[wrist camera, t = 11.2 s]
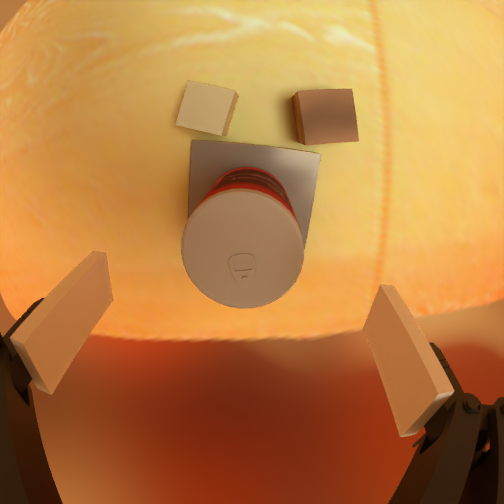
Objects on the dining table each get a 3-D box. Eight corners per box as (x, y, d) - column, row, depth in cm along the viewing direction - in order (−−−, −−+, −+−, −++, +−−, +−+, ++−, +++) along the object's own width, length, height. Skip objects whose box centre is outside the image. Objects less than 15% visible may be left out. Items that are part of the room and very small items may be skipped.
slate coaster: (193, 139, 25) (192, 140, 25) (319, 153, 26) (320, 154, 25) (188, 253, 30) (186, 256, 30) (299, 265, 31) (300, 269, 30)
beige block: (198, 86, 23) (188, 80, 20) (238, 96, 24) (235, 90, 20) (187, 125, 25) (175, 125, 21) (226, 135, 25) (221, 135, 22)
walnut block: (291, 97, 23) (297, 91, 19) (338, 94, 23) (352, 88, 19) (298, 142, 25) (305, 145, 21) (343, 138, 25) (358, 141, 21)
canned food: (230, 255, 29) (215, 322, 19) (195, 185, 26) (156, 222, 16) (300, 228, 28) (321, 287, 18) (270, 152, 25) (276, 169, 15)
